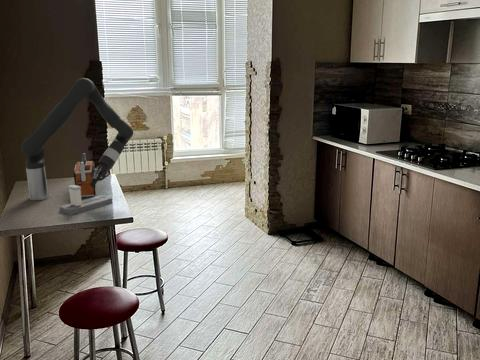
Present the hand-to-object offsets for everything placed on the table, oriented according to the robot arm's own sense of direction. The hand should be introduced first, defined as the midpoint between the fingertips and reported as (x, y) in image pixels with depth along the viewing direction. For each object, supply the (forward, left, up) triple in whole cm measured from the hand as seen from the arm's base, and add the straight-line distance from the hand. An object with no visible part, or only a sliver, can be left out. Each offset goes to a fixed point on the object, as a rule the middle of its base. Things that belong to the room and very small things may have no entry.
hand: (91, 186), depth 232 cm
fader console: (-3, -2, -10) cm, 11 cm away
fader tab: (-9, -4, -7) cm, 12 cm away
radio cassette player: (+1, +28, -10) cm, 30 cm away
